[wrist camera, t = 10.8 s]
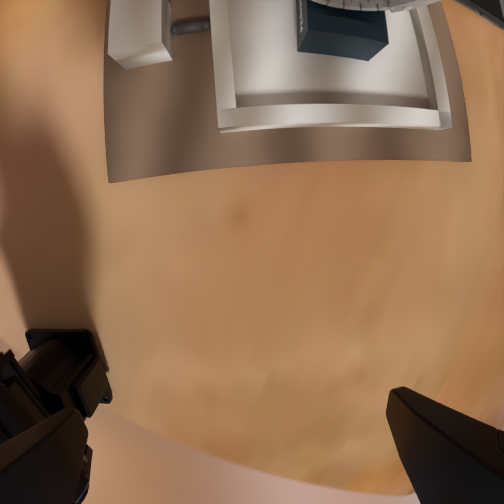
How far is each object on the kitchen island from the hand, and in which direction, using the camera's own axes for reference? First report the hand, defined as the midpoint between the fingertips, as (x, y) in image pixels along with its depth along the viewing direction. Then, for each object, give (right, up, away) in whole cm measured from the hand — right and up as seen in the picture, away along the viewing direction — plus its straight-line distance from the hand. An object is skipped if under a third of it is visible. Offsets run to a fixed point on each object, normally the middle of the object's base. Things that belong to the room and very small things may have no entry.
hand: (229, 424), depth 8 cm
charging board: (+3, +19, +9) cm, 21 cm away
